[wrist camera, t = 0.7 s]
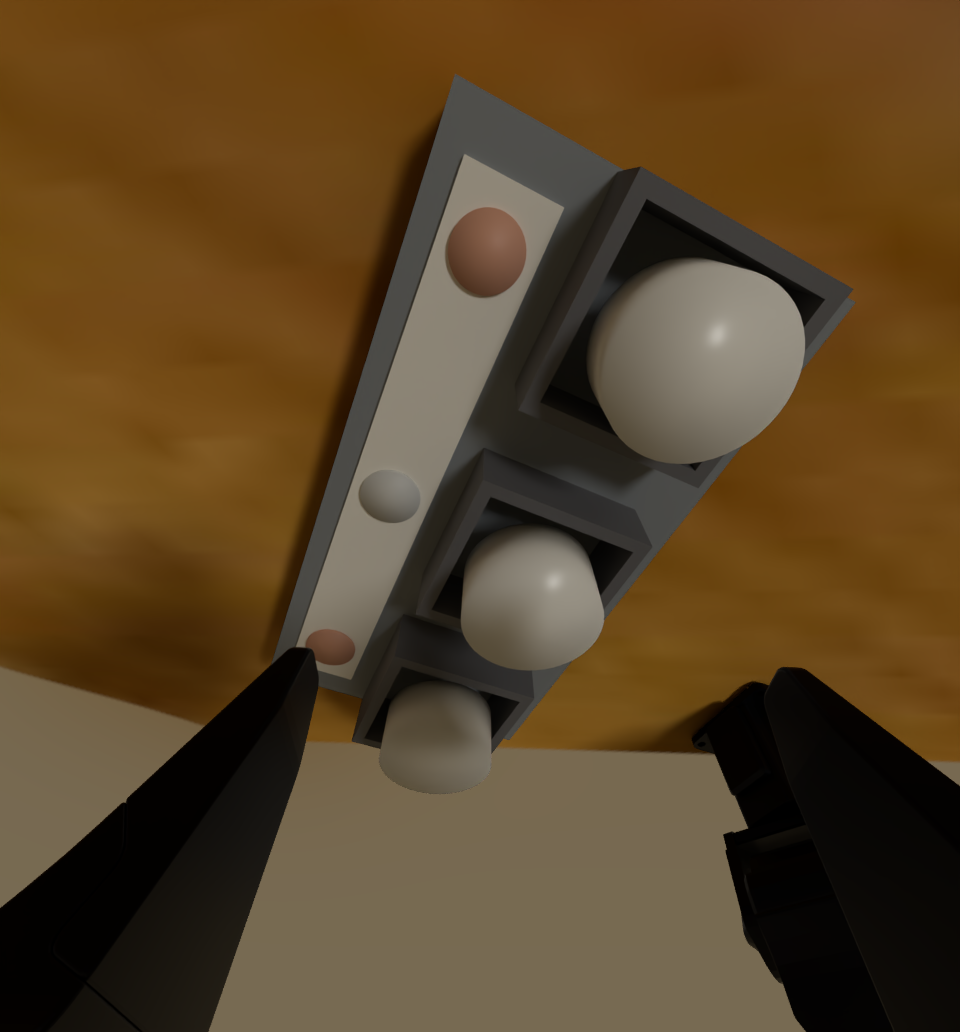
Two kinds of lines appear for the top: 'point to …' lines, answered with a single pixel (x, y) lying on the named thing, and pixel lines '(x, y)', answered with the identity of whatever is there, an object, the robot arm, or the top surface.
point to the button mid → (530, 598)
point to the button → (694, 358)
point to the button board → (502, 404)
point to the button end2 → (437, 738)
